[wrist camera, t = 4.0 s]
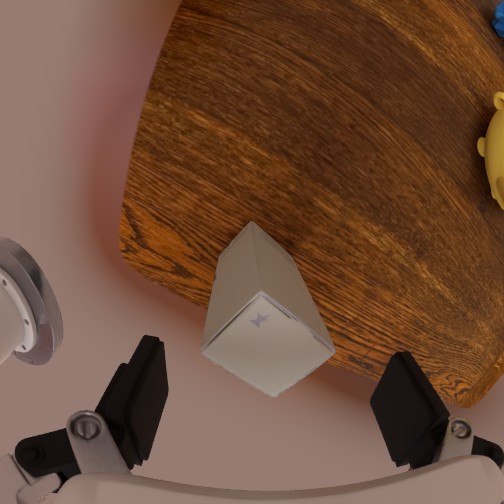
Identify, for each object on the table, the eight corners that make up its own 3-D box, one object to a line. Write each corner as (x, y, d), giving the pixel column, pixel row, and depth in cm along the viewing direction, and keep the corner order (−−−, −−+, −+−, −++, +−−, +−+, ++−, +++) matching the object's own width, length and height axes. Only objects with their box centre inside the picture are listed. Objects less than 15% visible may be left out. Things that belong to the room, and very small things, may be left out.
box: (217, 255, 24) (189, 350, 12) (252, 217, 23) (257, 285, 11) (262, 293, 25) (273, 403, 13) (297, 259, 24) (341, 353, 12)
